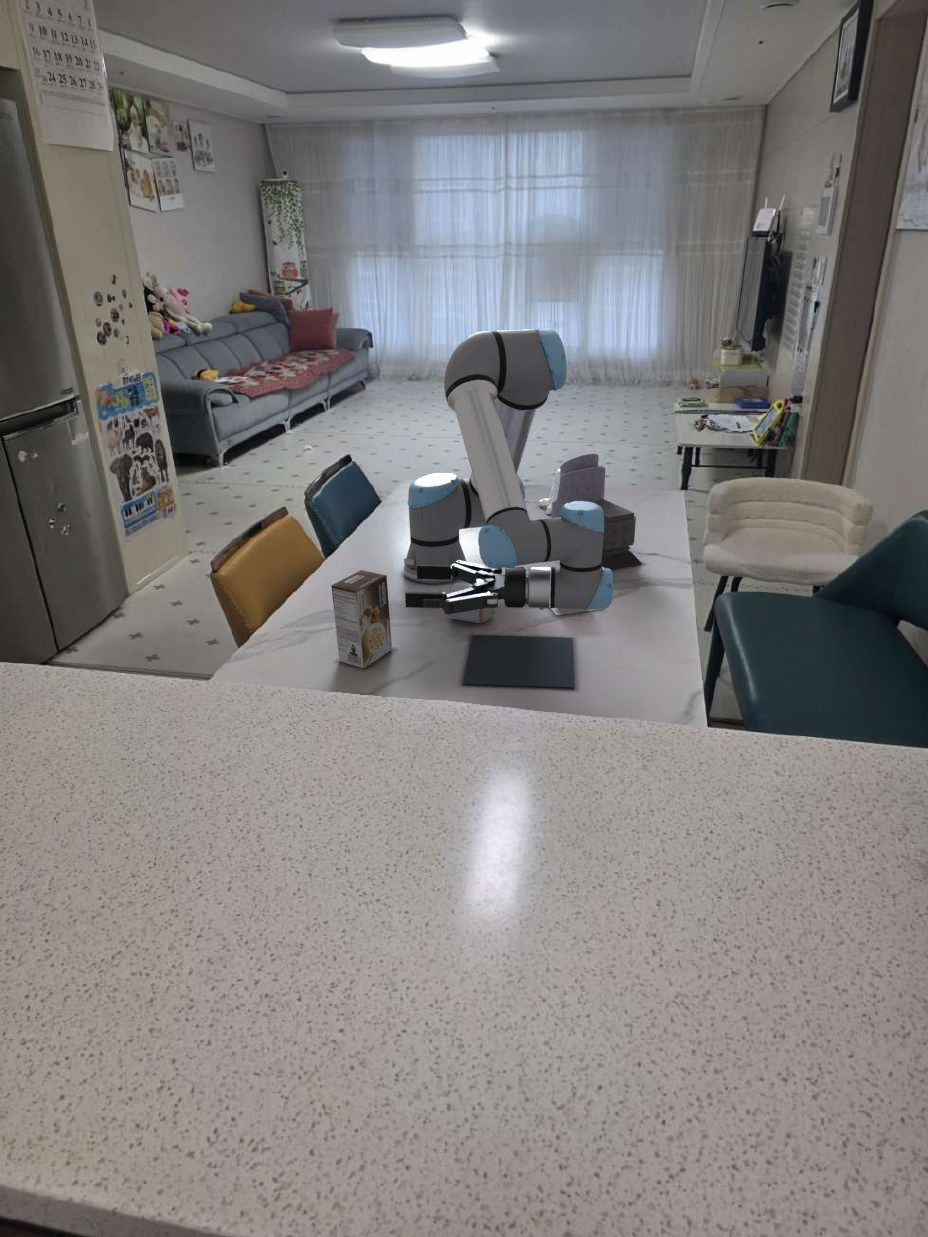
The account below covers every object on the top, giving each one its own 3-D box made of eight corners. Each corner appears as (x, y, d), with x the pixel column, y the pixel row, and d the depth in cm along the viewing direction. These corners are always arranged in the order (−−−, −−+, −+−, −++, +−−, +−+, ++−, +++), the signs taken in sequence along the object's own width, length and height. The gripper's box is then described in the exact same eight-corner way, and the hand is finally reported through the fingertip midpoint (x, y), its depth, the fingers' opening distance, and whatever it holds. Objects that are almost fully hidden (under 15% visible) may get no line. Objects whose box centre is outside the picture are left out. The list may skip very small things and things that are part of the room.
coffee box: (367, 643, 165) (361, 568, 158) (393, 650, 162) (388, 574, 155) (337, 661, 158) (330, 584, 151) (363, 669, 155) (357, 591, 148)
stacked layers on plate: (556, 615, 175) (557, 591, 173) (541, 599, 183) (542, 576, 181) (600, 609, 178) (601, 586, 175) (583, 593, 186) (584, 571, 183)
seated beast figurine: (537, 505, 246) (538, 466, 241) (564, 503, 248) (566, 463, 243) (547, 515, 238) (549, 474, 233) (576, 512, 240) (577, 471, 234)
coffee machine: (531, 537, 221) (533, 446, 210) (582, 527, 227) (586, 439, 216) (594, 574, 196) (599, 473, 186) (649, 562, 202) (657, 464, 192)
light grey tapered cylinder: (482, 629, 169) (482, 595, 166) (446, 624, 172) (445, 590, 169) (499, 610, 178) (500, 577, 175) (464, 605, 181) (464, 572, 178)
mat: (472, 636, 167) (472, 634, 167) (571, 638, 165) (572, 637, 165) (462, 685, 149) (462, 683, 149) (573, 688, 147) (574, 687, 147)
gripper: (523, 635, 141) (401, 632, 143) (528, 580, 163) (422, 579, 165) (524, 595, 138) (399, 592, 140) (528, 545, 160) (420, 543, 162)
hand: (411, 585), depth 153 cm, fingers open, 13 cm apart
